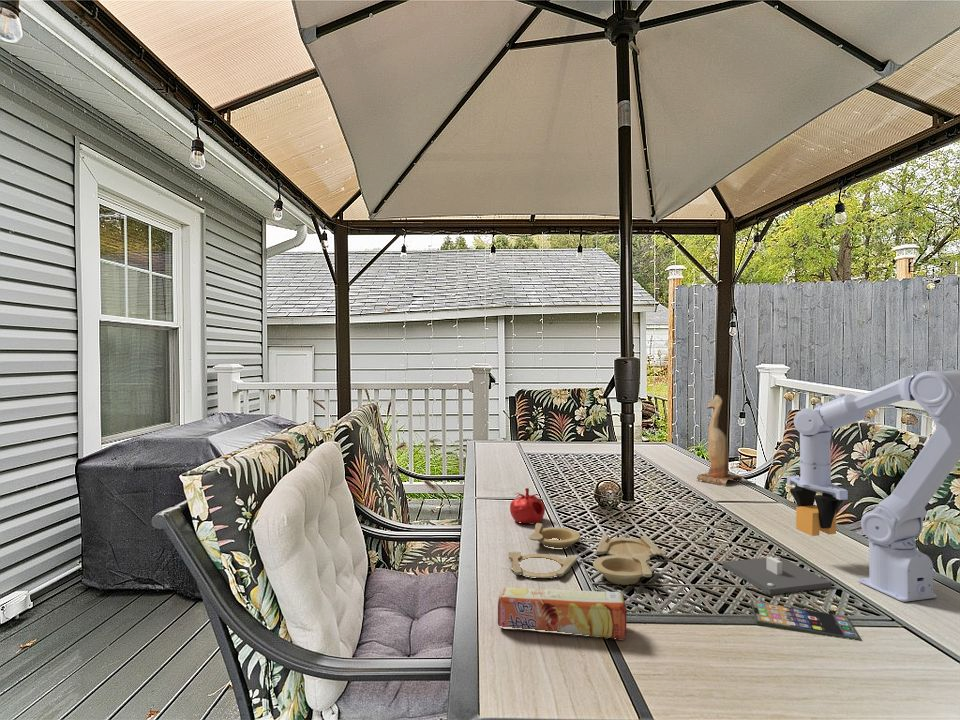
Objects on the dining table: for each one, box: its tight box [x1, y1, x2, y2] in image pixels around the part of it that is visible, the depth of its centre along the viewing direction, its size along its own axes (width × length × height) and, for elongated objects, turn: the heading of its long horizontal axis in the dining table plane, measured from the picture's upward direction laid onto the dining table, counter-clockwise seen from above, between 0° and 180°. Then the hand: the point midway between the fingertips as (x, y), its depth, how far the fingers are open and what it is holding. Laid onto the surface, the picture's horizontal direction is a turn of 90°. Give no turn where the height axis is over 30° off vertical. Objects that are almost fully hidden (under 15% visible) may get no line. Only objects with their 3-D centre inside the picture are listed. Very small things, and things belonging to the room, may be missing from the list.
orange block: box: [795, 504, 837, 537], centre depth 117 cm, size 6×4×5 cm
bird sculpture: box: [696, 394, 743, 487], centre depth 193 cm, size 11×12×32 cm
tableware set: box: [507, 522, 667, 586], centre depth 120 cm, size 35×29×4 cm
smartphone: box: [750, 600, 862, 642], centre depth 91 cm, size 8×15×1 cm, turn 69°
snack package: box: [497, 586, 627, 640], centre depth 90 cm, size 21×7×7 cm, turn 78°
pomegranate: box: [509, 487, 546, 523], centre depth 149 cm, size 10×10×9 cm
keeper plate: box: [722, 556, 833, 595], centre depth 109 cm, size 14×14×4 cm
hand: (816, 524), depth 117 cm, fingers closed on orange block, 4 cm apart
